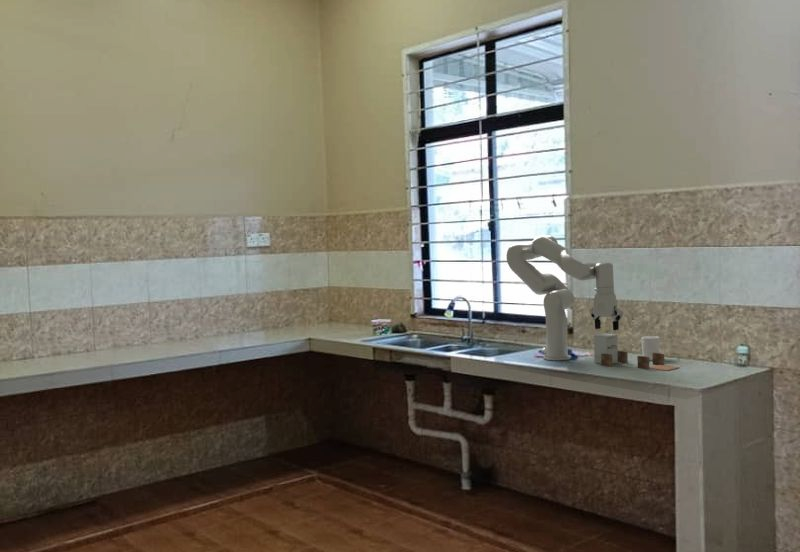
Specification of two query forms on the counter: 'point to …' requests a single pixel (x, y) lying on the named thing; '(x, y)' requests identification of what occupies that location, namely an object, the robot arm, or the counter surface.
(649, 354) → the white cup
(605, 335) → the supplement box
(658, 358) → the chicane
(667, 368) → the mat
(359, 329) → the counter surface
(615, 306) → the robot arm
